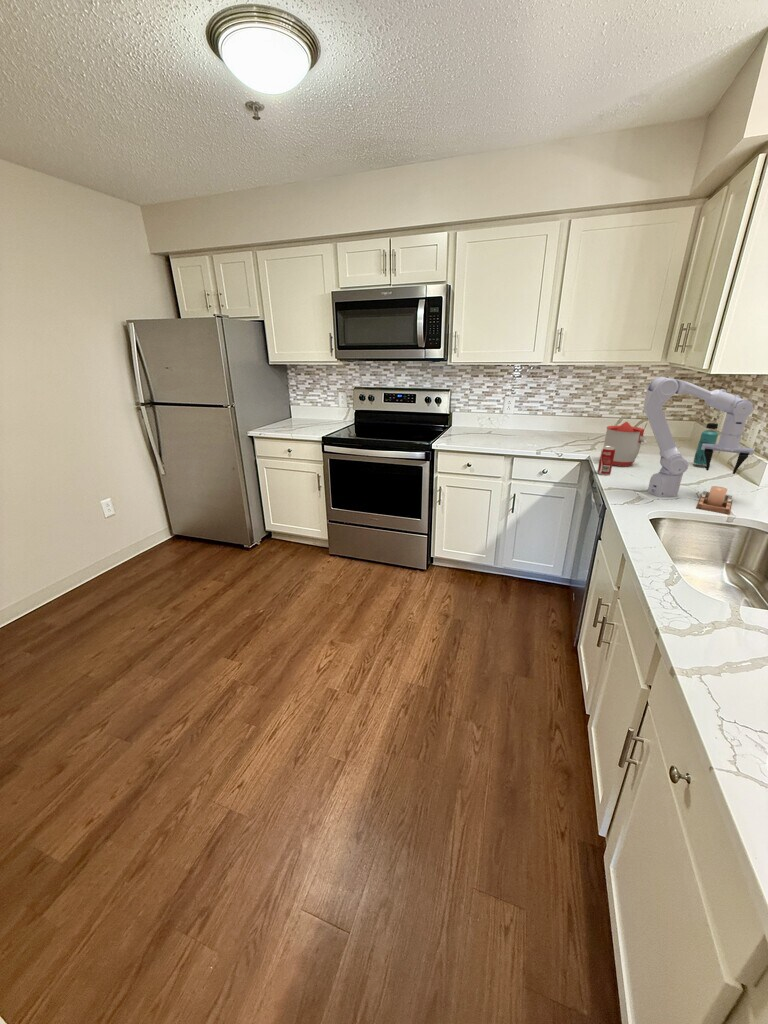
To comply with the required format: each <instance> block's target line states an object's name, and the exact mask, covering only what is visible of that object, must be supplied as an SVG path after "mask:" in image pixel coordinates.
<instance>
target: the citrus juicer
mask: <svg viewBox="0 0 768 1024" xmlns="http://www.w3.org/2000/svg"><path fill="white" fill-rule="evenodd" d="M644 432H645V429H644V428H642V427H639V426H638V427H637V426H632V425H631V424H630V423H629V422H628V421H624V422H623V423H622V424H620V425H608V426H607V427H606V432H605V438H604V443H603V447H604V446H611V447H615V454H614V459H613V464H612V466H616V467H629V466H632V465H633V464H634V462H635V461H636V459H637V457H638V456H639V453H640V449H641V445H642V443H644V444H645V443H647V438H646V437H645V436H644Z"/></svg>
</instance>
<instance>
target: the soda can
mask: <svg viewBox="0 0 768 1024" xmlns="http://www.w3.org/2000/svg"><path fill="white" fill-rule="evenodd" d="M614 454H615V447H611V446H604V445H603V447H602V448H601V452H600V458H599V463H598V468H597V474H598V475H600V476H610V475H612V474H611V473H612V469H613V465H612V464H613V459H614Z"/></svg>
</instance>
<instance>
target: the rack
mask: <svg viewBox="0 0 768 1024" xmlns="http://www.w3.org/2000/svg"><path fill="white" fill-rule="evenodd" d="M709 493H710V491H704V490H703V491H702V494H700V496H699V498H698V501H697V504H696V506H695V509H696V510H702V511H707V512H711V513H712V512H713V513H717V514H722V515H728V516H730V515H731V510H732V505H733V499H732V498H733V497H732V495H729V494H726V496H725V499H724V502H723V506H722V507H717V506H712V505H706V504H707V500H708V497H709Z"/></svg>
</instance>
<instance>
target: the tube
mask: <svg viewBox="0 0 768 1024" xmlns="http://www.w3.org/2000/svg"><path fill="white" fill-rule="evenodd" d="M709 492H710V493H709V497H708V500H707V504H706V505H712V506H717V507H722V506H723V502H724V499H725V496H726V495H727V492H728V488H726V487H723V486H715V485H714V486H711V487H710V490H709Z"/></svg>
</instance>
